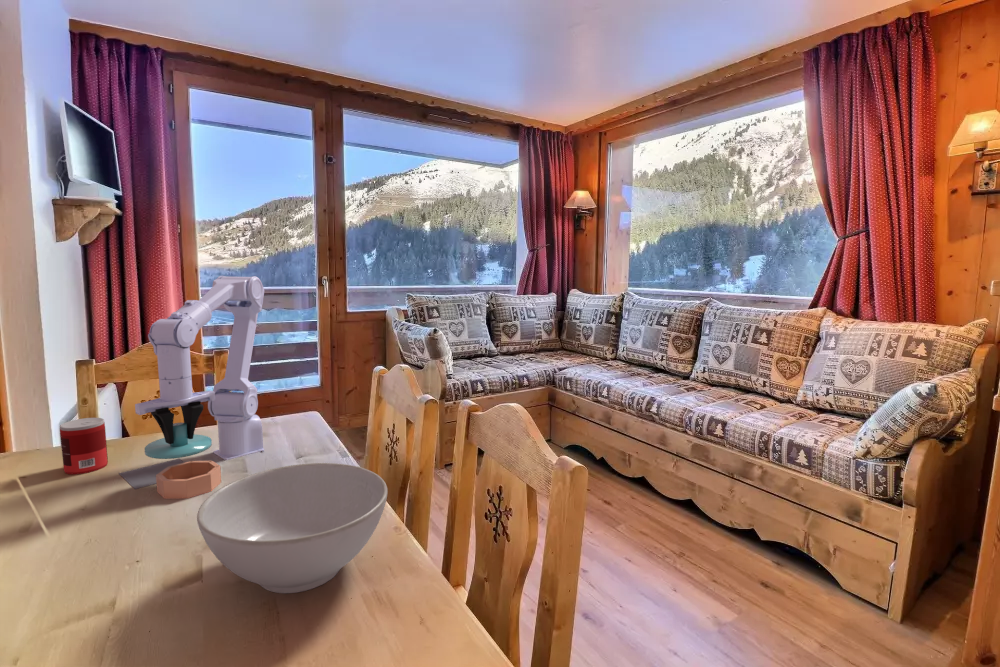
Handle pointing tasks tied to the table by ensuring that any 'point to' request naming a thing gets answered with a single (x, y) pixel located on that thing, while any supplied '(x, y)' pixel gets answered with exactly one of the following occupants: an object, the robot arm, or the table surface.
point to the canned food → (83, 445)
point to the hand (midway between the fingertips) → (179, 440)
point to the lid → (178, 444)
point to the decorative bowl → (293, 523)
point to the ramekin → (188, 479)
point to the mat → (147, 474)
